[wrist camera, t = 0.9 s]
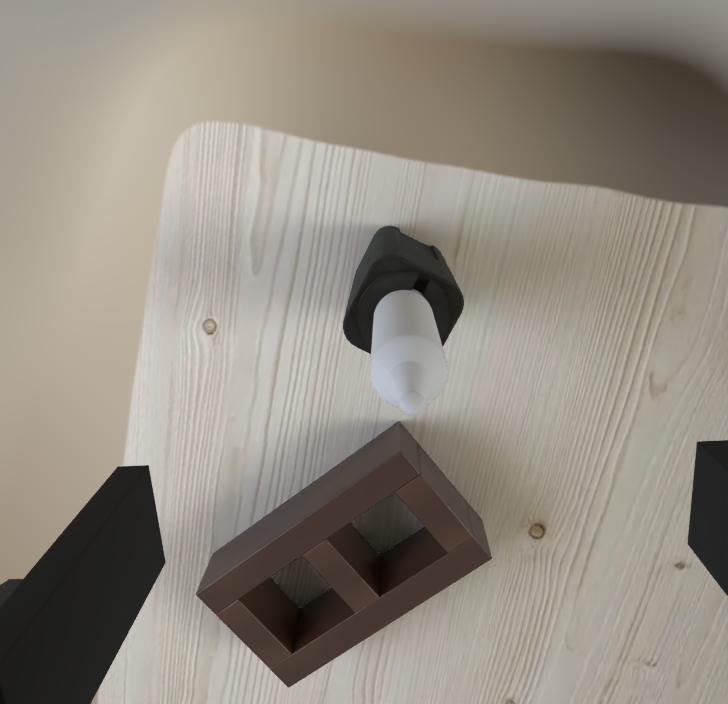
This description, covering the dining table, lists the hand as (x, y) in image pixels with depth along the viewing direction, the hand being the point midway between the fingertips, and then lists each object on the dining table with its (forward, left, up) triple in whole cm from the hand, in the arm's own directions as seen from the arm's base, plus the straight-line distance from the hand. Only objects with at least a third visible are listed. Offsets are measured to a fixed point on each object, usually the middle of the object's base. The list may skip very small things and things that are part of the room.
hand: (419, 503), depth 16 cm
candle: (0, 0, -31) cm, 31 cm away
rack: (+14, -16, -31) cm, 37 cm away
